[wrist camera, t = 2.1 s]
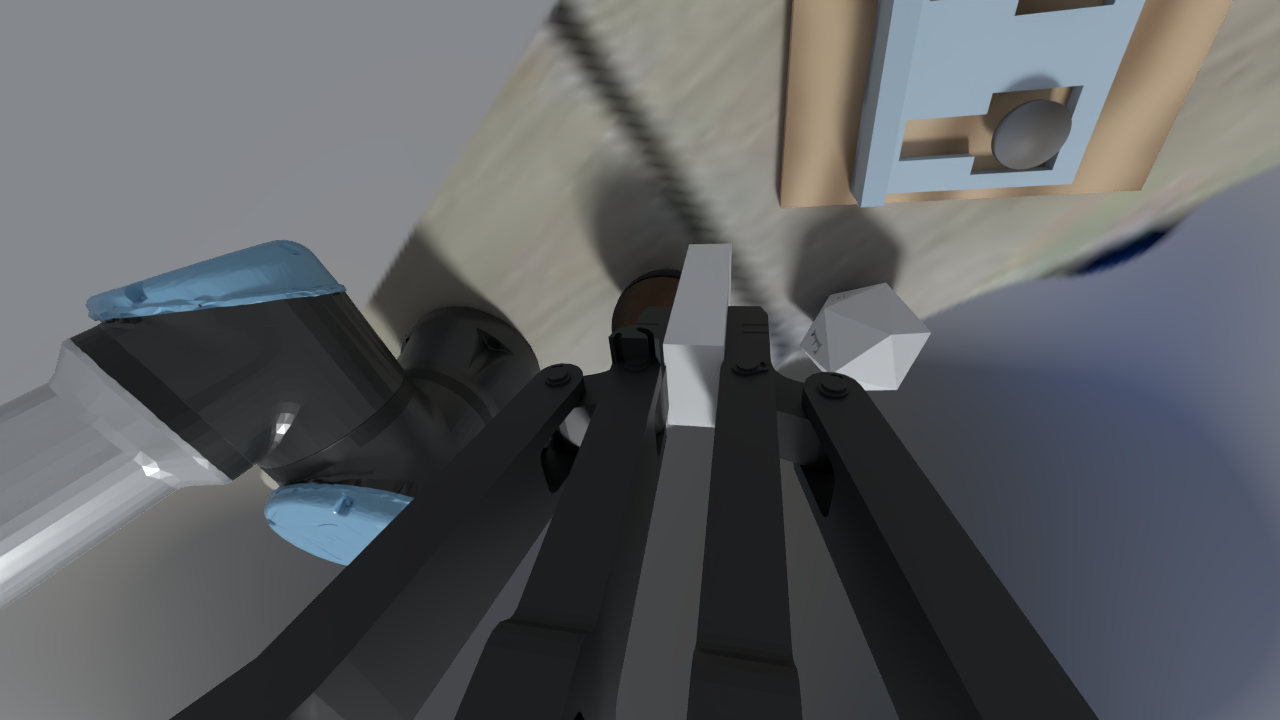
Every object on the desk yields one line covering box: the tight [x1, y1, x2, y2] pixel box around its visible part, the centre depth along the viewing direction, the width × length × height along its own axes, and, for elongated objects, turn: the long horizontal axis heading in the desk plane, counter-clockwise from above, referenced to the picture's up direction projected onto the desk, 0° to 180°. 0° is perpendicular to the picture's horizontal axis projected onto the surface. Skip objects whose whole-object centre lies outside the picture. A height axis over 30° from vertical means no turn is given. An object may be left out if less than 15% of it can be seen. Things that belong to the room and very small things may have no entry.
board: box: [779, 0, 1233, 208], centre depth 30 cm, size 24×18×4 cm
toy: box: [612, 269, 682, 333], centre depth 41 cm, size 9×10×10 cm
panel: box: [850, 0, 1146, 207], centre depth 28 cm, size 14×16×4 cm
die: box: [799, 283, 931, 390], centre depth 40 cm, size 8×9×10 cm
